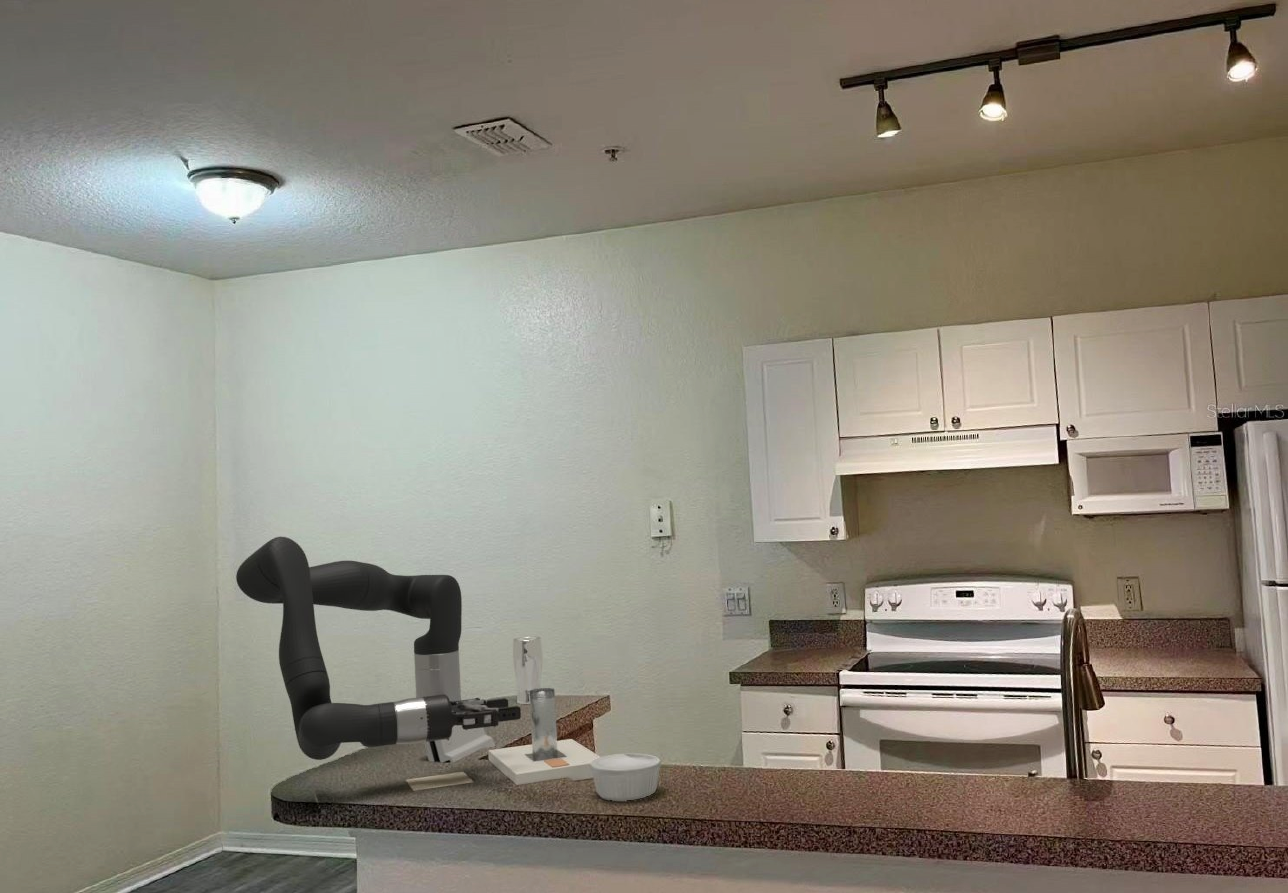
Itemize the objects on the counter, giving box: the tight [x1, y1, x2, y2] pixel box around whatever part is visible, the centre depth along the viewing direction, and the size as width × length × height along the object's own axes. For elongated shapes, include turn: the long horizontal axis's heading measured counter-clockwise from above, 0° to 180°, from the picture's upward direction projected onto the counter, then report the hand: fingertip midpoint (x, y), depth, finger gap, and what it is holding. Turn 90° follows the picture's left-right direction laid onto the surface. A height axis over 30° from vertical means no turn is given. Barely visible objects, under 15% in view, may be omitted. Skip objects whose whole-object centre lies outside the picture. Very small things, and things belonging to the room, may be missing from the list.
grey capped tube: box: [529, 687, 558, 762], centre depth 192 cm, size 4×4×14 cm
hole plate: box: [487, 738, 601, 786], centre depth 192 cm, size 20×16×3 cm
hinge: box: [423, 725, 496, 763], centre depth 206 cm, size 17×5×10 cm, turn 160°
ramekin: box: [590, 752, 662, 802], centre depth 174 cm, size 11×11×5 cm
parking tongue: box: [405, 771, 474, 792], centre depth 185 cm, size 8×10×1 cm
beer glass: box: [512, 636, 543, 705], centre depth 258 cm, size 7×7×15 cm
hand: (513, 708), depth 190 cm, fingers open, 8 cm apart
